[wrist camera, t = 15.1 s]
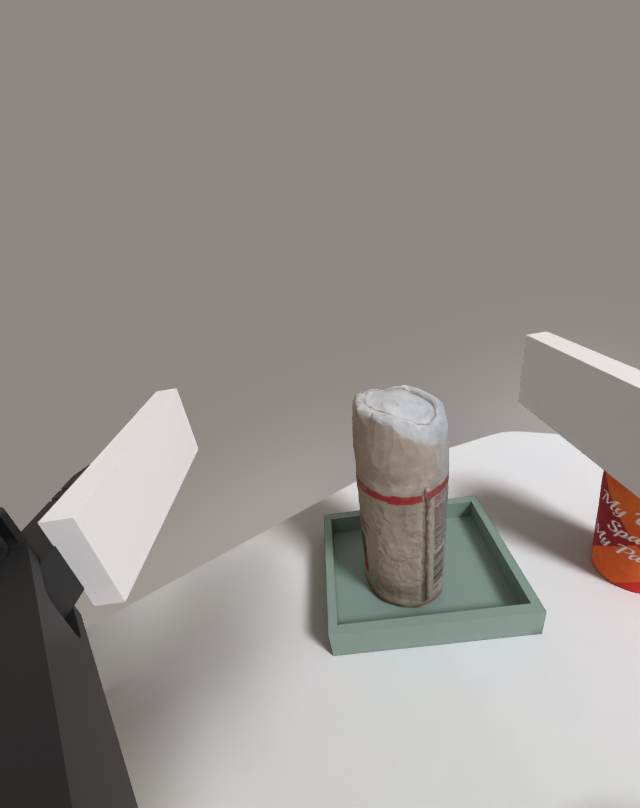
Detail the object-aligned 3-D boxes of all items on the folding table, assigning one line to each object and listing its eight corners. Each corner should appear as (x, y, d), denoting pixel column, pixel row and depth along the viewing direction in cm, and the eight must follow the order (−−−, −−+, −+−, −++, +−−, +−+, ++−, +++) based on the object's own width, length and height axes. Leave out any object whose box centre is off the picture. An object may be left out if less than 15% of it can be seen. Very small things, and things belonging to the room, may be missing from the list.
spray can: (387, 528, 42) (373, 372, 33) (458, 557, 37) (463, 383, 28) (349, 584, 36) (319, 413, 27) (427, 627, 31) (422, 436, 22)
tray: (333, 655, 31) (328, 635, 30) (327, 533, 43) (323, 515, 42) (541, 633, 30) (546, 611, 29) (474, 514, 43) (475, 495, 41)
